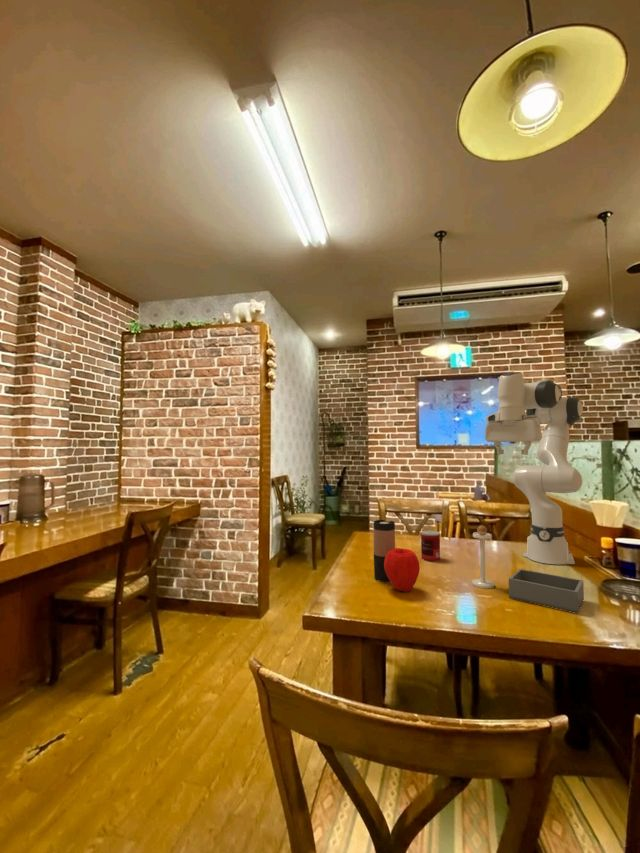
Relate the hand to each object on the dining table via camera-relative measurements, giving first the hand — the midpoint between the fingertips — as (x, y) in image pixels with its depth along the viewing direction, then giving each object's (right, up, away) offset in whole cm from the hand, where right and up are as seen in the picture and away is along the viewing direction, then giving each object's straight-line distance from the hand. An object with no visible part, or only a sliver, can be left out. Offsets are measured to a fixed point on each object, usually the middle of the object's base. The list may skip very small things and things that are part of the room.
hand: (512, 454), depth 142 cm
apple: (-43, -44, -13) cm, 62 cm away
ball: (-14, -25, -7) cm, 30 cm away
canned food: (-23, -46, +23) cm, 56 cm away
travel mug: (-46, -44, -2) cm, 64 cm away
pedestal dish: (-14, -44, -8) cm, 47 cm away
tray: (0, -43, -21) cm, 48 cm away
